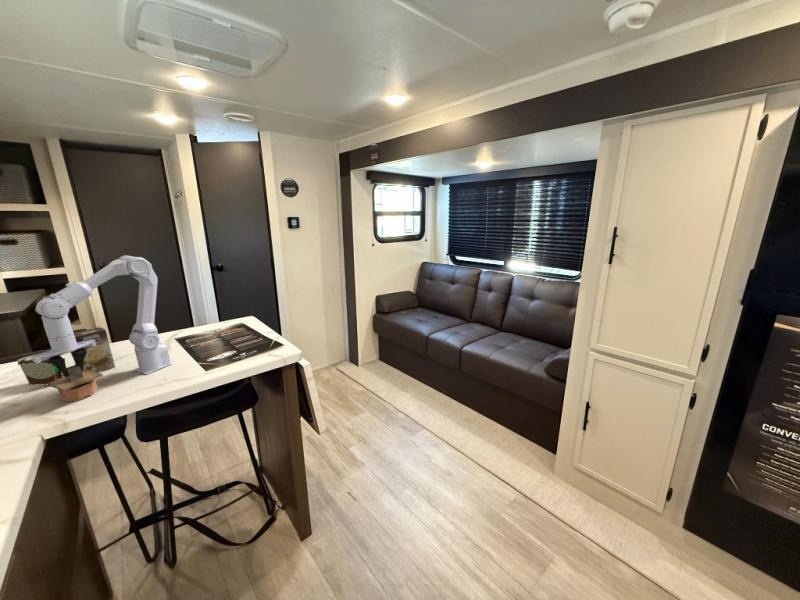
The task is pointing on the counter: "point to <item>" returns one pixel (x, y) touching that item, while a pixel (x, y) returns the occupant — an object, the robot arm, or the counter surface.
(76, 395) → the bowl
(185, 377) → the counter surface
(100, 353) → the coffee box
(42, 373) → the food container
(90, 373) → the board
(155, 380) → the counter surface
